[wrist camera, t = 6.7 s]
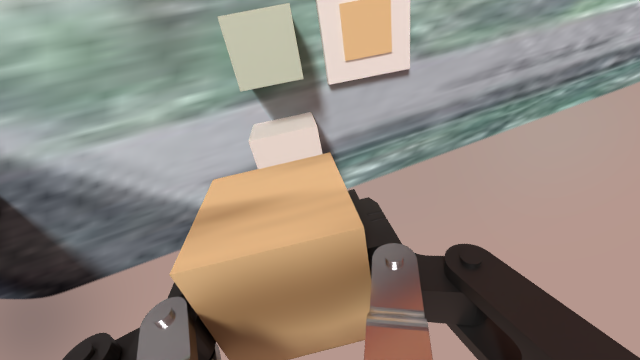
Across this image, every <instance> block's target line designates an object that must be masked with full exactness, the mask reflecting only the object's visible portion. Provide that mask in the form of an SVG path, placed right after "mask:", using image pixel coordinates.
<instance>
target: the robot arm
mask: <svg viewBox="0 0 640 360" xmlns="http://www.w3.org/2000/svg"><path fill="white" fill-rule="evenodd" d="M348 193H349V195H350V198H351V200H352V202H353V204H354V206H355V209H356V211H357V213H358V215H359V217H360V220H361V222H362V224H363V226H364V231H365V238H366V246H367V253H368V260H369V268H370V275H371V295H370V311H369V313H368V314H367V319H366V333H365V351H364V360H433V358H432V350H431V343H430V336H429V329H428V323H427V322H435V323H446V324H447V325H448V326H449V327H450V329H451V330H452V331H453V332H454V333H455V334H456V335H457V336H458V337H459V339H460V340H461V341H462V342H463V343H464V344H465V345H466V347H468V349H469V350H470V351H471V352H472V353H473V354H474V356H475V357H476V358H477V359H478V360H640V358H639V357H637V356H636V355H634V354H633V353H632V352H630V351H629V350H627V349H626V348H624V347H623V346H622V345H620V344H619V343H617V342H616V341H615V340H613V339H612V338H610V337H609V336H607V335H606V334H605V333H603V332H602V331H600V330H599V329H597V328H596V327H595V326H593V325H592V324H590V323H589V322H588V321H586V320H585V319H583V318H582V317H581V316H579V315H578V314H576V313H575V312H573V311H572V310H571V309H569V308H567V307H566V306H565V305H563V304H562V303H560V302H559V301H558V300H556V299H555V298H554V297H552V296H551V295H549V294H548V293H546V292H545V291H544V290H542V289H541V288H539V287H538V286H536V285H535V284H534V283H532V282H531V281H529V280H528V279H527V278H525V277H524V276H522V275H521V274H519V273H518V272H517V271H515V270H514V269H512V268H511V267H509V266H508V265H507V264H505V263H504V262H502V261H501V260H500V259H498V258H497V257H495V256H494V255H492V254H491V253H490V252H488V251H487V250H485V249H483V248H481V247H479V246H475V245H471V244H458V245H454V246H452V247H450V248H449V249H448V250H447V251H446V253H445V256H425V255H419V254H416V253H414V252H413V251H412V250H411V249H410V248H408V247H407V246H405V245H402V243H401V242H400V240H399V238H398V237H397V235H396V233H395V232H394V230H393V228H392V227H391V225H390V223H389V222H388V220H387V219H386V217H385V215H384V213H383V212H382V210H381V208H380V207H379V205H378V203H377V202H375V201H373V200H372V199H370V198H365V199H360V200H359V198H358V196H357V194H356V192H355V190H354V189H353V190H349V191H348ZM63 360H221V356H220V351H219V347H218V345H217V344H216V340H215V339H214V338H213V336H212V335H211V333H210V332H209V330H208V329H207V328H206V326H205V325H204V323H203V322H202V321H201V319H200V318H199V316H198V315H197V313H196V312H195V311H194V309H193V308H192V306H191V305H190V303H189V302H188V301H187V299H186V298H185V296H184V295H183V293H182V292H181V291H180V289H179V288H178V286H177V285H176V283H175V282H174V284H173V287H172V289H171V291H170V294H169V296H168V299H166V300H164V301H162V302H160V303H159V304H158V305H156V306H155V307H154V308H153V309H152V310H151V311H150V312H149V313H148V314H147V315H146V316H145V318H144V320H143V321H142V324H141V326H140V328H138V329H136V330H134V331H132V332H130V333H128V334H126V335H124V336H122V337H121V338H119V339H117V340H114V339H113V338H112V337H111V336H110V335H109V334H107V333H99V334H95V335H93V336H91V337H89V338H87V339H85V340H84V341H82V342H81V343H79V344H78V345H77V346H75V347H74V348H73V349H72V350H71V351H70V352H69V353H68V354H67V355H66V356H65V357H64V358H63Z"/></svg>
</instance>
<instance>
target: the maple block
mask: <svg viewBox="0 0 640 360" xmlns="http://www.w3.org/2000/svg"><path fill="white" fill-rule="evenodd" d="M170 276H171V278H172V279H173V280H174V282H175V283H176V285H177V286H178V288H179V289H180V291H181V292H182V293H183V295H184V296H185V298H186V299H187V301H188V302H189V303H190V305H191V306H192V308H193V309H194V311H195V312H196V313H197V315H198V316H199V318H200V319H201V321H202V322H203V323H204V325H205V326H206V328H207V329H208V330H209V332H210V333H211V335H212V336H213V338H214V339H215V340H216V342H217V343H218V345H219V346H220V348H221V349H222V350H223V352H224V353H225V355H226V356H227V358H228V359H229V360H289V359H293V358H297V357H301V356H305V355H309V354H312V353H316V352H320V351H324V350H328V349H332V348H336V347H339V346H343V345H347V344H351V343H355V342H359V341H362V340H365V333H366V319H367V314H368V313H369V311H370V295H371V275H370V268H369V260H368V253H367V246H366V238H365V231H364V226H363V224H362V222H361V220H360V217H359V215H358V213H357V211H356V209H355V206H354V204H353V202H352V200H351V198H350V195H349V193H348V191H347V189H346V187H345V184H344V182H343V180H342V178H341V176H340V173H339V171H338V169H337V167H336V164H335V162H334V160H333V158H332V156H331V153H325V154H321V155H317V156H313V157H308V158H304V159H300V160H296V161H291V162H287V163H283V164H278V165H274V166H270V167H266V168H261V169H257V170H253V171H249V172H244V173H240V174H236V175H232V176H227V177H223V178H219V179H215V180H213V181H212V183H211V186H210V188H209V190H208V192H207V194H206V196H205V199H204V201H203V203H202V205H201V207H200V209H199V212H198V214H197V216H196V218H195V220H194V223H193V225H192V227H191V229H190V231H189V233H188V236H187V238H186V240H185V242H184V244H183V246H182V249H181V251H180V253H179V255H178V257H177V259H176V262H175V264H174V266H173V268H172V271H171V273H170Z"/></svg>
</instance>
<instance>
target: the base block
mask: <svg viewBox="0 0 640 360" xmlns="http://www.w3.org/2000/svg"><path fill="white" fill-rule="evenodd" d="M249 144H250V147H251V150H252V153H253V156H254V159H255V162H256V164H257V167H258V169H261V168H266V167H270V166H274V165H278V164H283V163H287V162H291V161H296V160H300V159H304V158H308V157H313V156H317V155H321V154H322V149H321V144H320V139H319V134H318V129H317V125H316V122H315V120H314V118H313V115H312V113H311V112H308V113H303V114H299V115H294V116H290V117H285V118H281V119H276V120H272V121H267V122H263V123H258V124H254V125H253V128H252V131H251V135H250V138H249Z"/></svg>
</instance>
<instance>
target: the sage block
mask: <svg viewBox="0 0 640 360" xmlns="http://www.w3.org/2000/svg"><path fill="white" fill-rule="evenodd" d="M218 20H219V24H220V27H221V30H222V33H223V36H224V40H225V43H226V46H227V49H228V53H229V56H230V59H231V62H232V65H233V69H234V72H235V75H236V78H237V82H238V85H239V88H240V91H246V90H251V89H256V88H261V87H266V86H271V85H276V84H281V83H285V82H290V81H295V80H300V79H304V78H303V73H302V68H301V63H300V57H299V52H298V47H297V41H296V36H295V31H294V25H293V20H292V15H291V10H290V4H289V3H287V4H282V5H277V6H271V7H266V8H261V9H255V10H250V11H245V12H240V13H234V14H229V15H224V16H219V17H218Z"/></svg>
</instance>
